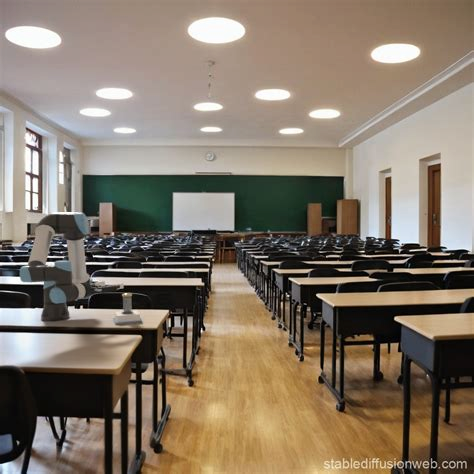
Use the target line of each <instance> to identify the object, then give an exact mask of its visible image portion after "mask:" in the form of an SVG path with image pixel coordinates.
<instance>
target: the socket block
mask: <svg viewBox="0 0 474 474" xmlns="http://www.w3.org/2000/svg"><path fill="white" fill-rule="evenodd" d="M114 315H115V317H113V322H114V324H115V326H118V325H120V326H121V325H129V324H132V325H133V324H142V323H143V320H142V318H141V314H140V312H139V311H138V309H134V310H132V314H123V311H122V310H121V311H115V313H114Z"/></svg>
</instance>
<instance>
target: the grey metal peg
mask: <svg viewBox="0 0 474 474" xmlns="http://www.w3.org/2000/svg"><path fill="white" fill-rule="evenodd" d="M121 296H122V305H123V306H122V310H123V314H132V296H133V293H131V292H127V293H126V292H125V293H122V294H121Z"/></svg>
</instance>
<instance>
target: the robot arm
mask: <svg viewBox="0 0 474 474" xmlns="http://www.w3.org/2000/svg"><path fill="white" fill-rule="evenodd" d="M88 222H89V221H88V218H87V216H86V214H85V213H84V212H77V211H76V212H51V213H50V214H47V215H45V216H44V217H42V218H41V220H40V221H38V223H37V224H36V227H35V228H34V233H35V237H34V242H33V245H32V249H31V252H30V256H29V259H28V263H27V265H23V266H21V267H20V269H19V280H20V282H21V283H30V284H31V283H43V288H42V289H43V309H42V312H41V315H40V320H41V319H42V320H41V321H44V320H46V321H48V322H52V321H53V320H55V321H62V320H66V318H67V319H68V317H69V316H70V311H69V308H68V306H67V302H72V301H76V302H78V300H81V299H82V300H84V299H90V298H91V296H92V294H95V293H97V294H99V293H108V292H117V291H118V290H120V289H121V290H122V289H124V282H120V283H115V284H112V285H106V281H105V280H102V281H101V280H100V281H98V282H95V281H93V280H94V279H93V278H91V277H90V274H89V273H87V265H86V254H85V244H84V243H85V242H84V239H85V238H86V236H87V234H89V223H88ZM56 235H62V236H63V239H64V240H66V244H67V245H66V246H67V252H68V253H67V256H68V260H66V259H64V260H56V261H54V263H53V264H49V265H47V261H48V260H47V259H48V256H49V252H50V247H51V243H52V239H53V238H54V237H55V236H56ZM69 318H70V317H69Z"/></svg>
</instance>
